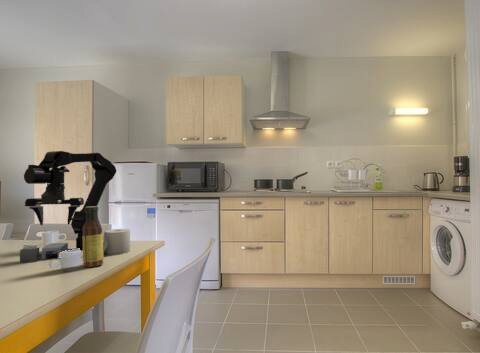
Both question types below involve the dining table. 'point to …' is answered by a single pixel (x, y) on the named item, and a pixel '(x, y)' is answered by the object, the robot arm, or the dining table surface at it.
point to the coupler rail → (30, 254)
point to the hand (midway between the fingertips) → (55, 224)
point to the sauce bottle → (92, 238)
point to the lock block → (53, 249)
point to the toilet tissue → (116, 241)
